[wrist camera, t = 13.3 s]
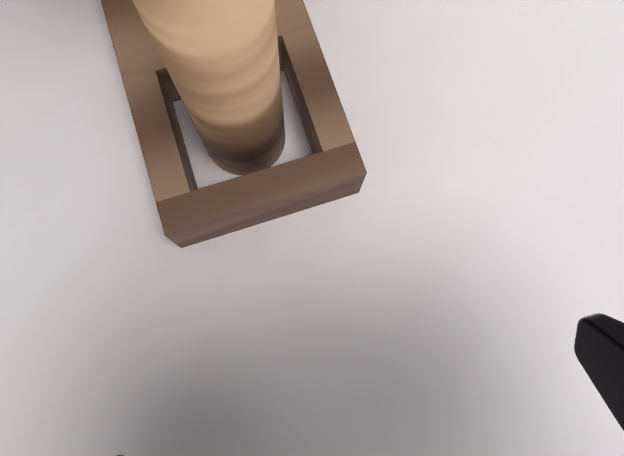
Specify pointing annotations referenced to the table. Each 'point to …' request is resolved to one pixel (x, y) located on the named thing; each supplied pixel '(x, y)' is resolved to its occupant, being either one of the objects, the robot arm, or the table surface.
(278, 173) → the socket stand
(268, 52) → the peg
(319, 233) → the table surface
